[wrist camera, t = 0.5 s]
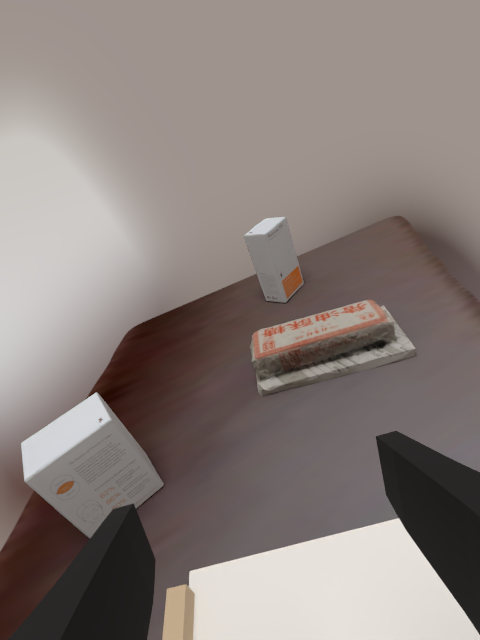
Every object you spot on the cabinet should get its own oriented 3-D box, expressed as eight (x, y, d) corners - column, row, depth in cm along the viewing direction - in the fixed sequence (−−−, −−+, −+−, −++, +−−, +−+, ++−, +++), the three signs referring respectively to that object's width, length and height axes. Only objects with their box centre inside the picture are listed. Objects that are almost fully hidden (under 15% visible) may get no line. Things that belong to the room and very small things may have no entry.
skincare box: (286, 304, 57) (264, 234, 51) (265, 301, 60) (241, 235, 54) (305, 283, 61) (286, 215, 55) (284, 282, 63) (264, 217, 57)
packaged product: (247, 371, 40) (245, 322, 48) (260, 401, 42) (256, 349, 51) (414, 324, 37) (381, 281, 45) (418, 359, 39) (386, 312, 48)
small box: (147, 454, 41) (98, 389, 36) (166, 486, 37) (112, 417, 31) (82, 504, 38) (18, 442, 33) (93, 545, 34) (22, 481, 29)
